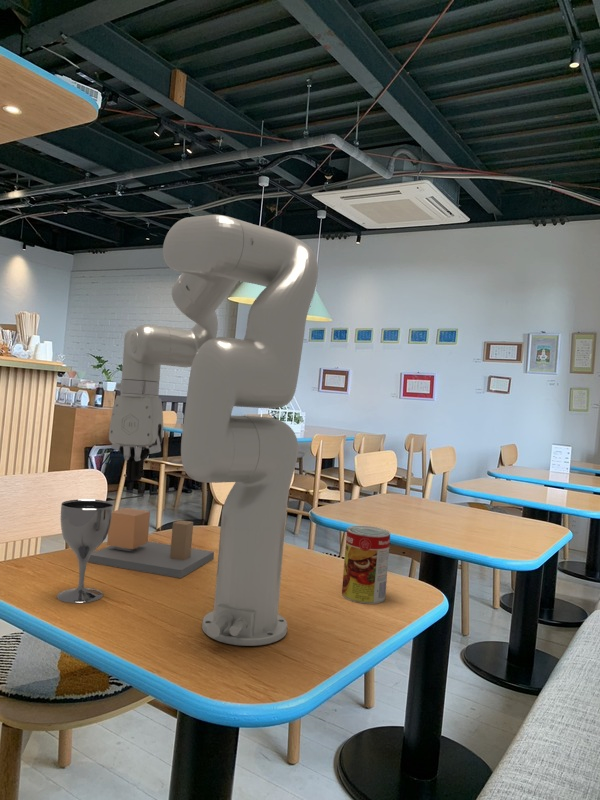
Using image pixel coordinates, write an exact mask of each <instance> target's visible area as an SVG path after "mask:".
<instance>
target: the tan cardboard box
mask: <svg viewBox="0 0 600 800" xmlns="http://www.w3.org/2000/svg"><path fill="white" fill-rule="evenodd" d="M150 518H151V511H149V510H143V509H136V508H131V507H130V508H129V507H124V508H120V509H117V510H113V511H112V519H111V524H110V528H109V531H108V534H107V540H106V541H107V542H106V543H107V544H106V545H107V546H116V547H123V548H129V549H134V548H137V547H139V546H141V545H144V544H146V543H148V541H149V532H150V531H149V530H150V521H151V520H150Z"/></svg>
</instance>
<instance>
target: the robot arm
mask: <svg viewBox="0 0 600 800" xmlns="http://www.w3.org/2000/svg"><path fill="white" fill-rule="evenodd" d="M168 230H169V231H168V232H167V233H166V236H165V238H164V241H163V245H162V255H163V261H164V262H165V264H166V265H167V267H168V268H169V269H170V270H173V271H176V272H179V273H181V274H180V275H179V276H178V278H177V280H176V281H174V284H173V286H172V288H171V298H172V301H173V303H174V304H175V306H176V307H177V308H178V310H179V312H181V314H183V315H184V316H186V317H187V318H189V319H190V320H191V321H192V322H193V323H195V325H194V326H193V327H192V328H191V329H188V330H187V329H182V328H177V327H175V328H174V327H171V326H164V325H163V326H161V325H156V324H155V325H154V324H140V325H139V326H137V327H136V328H131V329H128V330H127V331H126V332H125V334H124V340H123V341H124V342H123V352H122V353H123V356H122V367H121V368H122V369H121V380H120V383H116V385H115V388H116V390H118V391H119V392H120V395H116V396H115V399H114V402H113V407H112V412H111V414H110V415H111V416H110V422H109V429H108V431H109V432H108V440H109V442H110V443H111V445H110V447H111V449H113V450H116V451H118V452H120V453H121V454H122V456H123V459H124V460H125V461H126V464H125V465H126V466H125V475H126V479H125V480H126V481H133V482H136V481H140V480H142V477H143V474H144V461H147V458H148V457H149V456H150V455H151V454H157V453H160V452H162V446H161V444H162V442H163V438H164V437H163V436H164V411H163V404H162V402H163V401H162V398H161V397H159V393H160V380H161V379H160V377H161V366H169V367H178V368H190V371H189V378H188V384H187V385H188V386H187V393H186V401H185V408H184V416H183V424H182V431H181V432H182V433H181V442H180V458H181V459H180V460H181V465H182V467H183V471H184V472H185V473H186V475H187V476H188V477H189V478H190V479H192V480H194V481H196V482H199V483H203V484H204V483H207V484H208V483H209V484H210V483H211V484H212V483H213V484H214V483H233V486H232V487H231V489H230V491H229V492H228V494H227V495H226V498H225V500H224V503H223V506H222V510H221V518H220V519H221V521H220V531H219V544H218V555H217V567H216V568H217V570H216V582H215V594H214V607H213V610H212V611H209V612H208V613H207V614H205V615H204V617H203V618H202V625H201V627H202V628H201V629H202V631H203V632H204V634H205V635H206V636H208V637H209V638H210V639H212V640H215V641H217V642H220V643H222V644H223V643H224V644H228V645H232V646H233V645H234V646H240V647H241V646H243V647H244V646H245V647H246V646H247V647H250V646H251V647H253V646H254V647H257V646H265V645H269V644H272V643H275V642H278V641H280V640H282V639H283V638H284V637H285V636H286V634H287V632H288V622H287V620H286V619H285V618H284V617H283V616H282V615H280V614H279V605H280V593H281V592H280V591H281V580H282V569H283V568H282V567H283V556H284V555H283V554H284V543H285V533H286V531H285V530H286V529H285V528H286V522H287V521H286V519H287V508H288V500H289V496H290V495H289V492H290V488H291V484H292V480H293V476H294V473H295V468H296V465H297V461H298V455H299V443H298V438H297V435H296V434H295V431H294V430H293V429H292V427H291V426H290V425H288V424H287V423H285V422H284V421H283V420H280V419H278V418H274V417H268V416H254V415H251V416H250V415H232V413H233V409H234V407H237V408H238V407H241V408H257V409H278V408H283V407H285V406H287V405H288V404H290V403H291V402H292V400H293V399H294V396H295V393H296V391H297V389H296V388H297V385H298V379H299V372H300V366H301V359H302V353H303V345H304V340H305V339H304V338H305V330H306V322H307V317H308V313H309V309H310V307H311V304H312V301H313V297H314V295H315V290H316V288H317V283H318V276H319V268H318V261H317V258H316V255H315V253H314V251H313V250H312V248H311V247H310V246H309V245H307V243H305V242H304V241H302V240H301V239H299V238H297V237H294V236H293V235H289V234H287V233H284V232H281V231H278V230H276V229H272V228H269V227H265V226H261V225H257V224H253V223H251V222H247V221H244V220H241V219H238V218H234V217H231V216H228V215H222V214H208V215H200V216H198V215H197V216H190V217H189V216H188V217H184V218H182V219H179V220H178V221H177V222H175V223H174V224H173V225H172V226H171V227H170V229H168ZM239 282H242V283H243V282H244V283H248V284H252V285H253V284H254V285H257V286H260V287H261V286H262V287H265V288H264V289H263V290H262V291H261V292H260V293H259V294H258V296H257V297H256V298H255V299H254V301H253V303H252V304H251V306H250V308H249V311H248V315H247V321H246V322H247V323H246V331H245V335H244V338H243V339H241V338H240V339H239V338H235V337H227V336H218V335H217V334H218V329H219V325H218V324H219V323H218V321H219V320H218V315H217V313H216V311H217V309H218V308H219V306H220V305H221V304H222V303H223V302H224V300H225V299H226V298H227V296H228V295H229V294H230V293H231V291H232V290H233V289H234V288H235V287H236V285H237V284H238V283H239Z"/></svg>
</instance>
